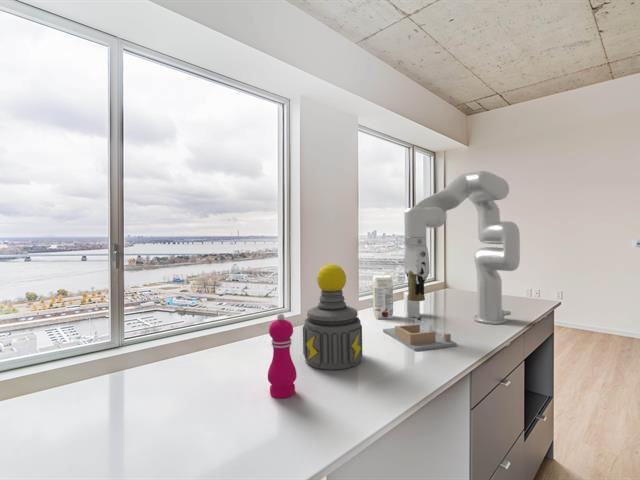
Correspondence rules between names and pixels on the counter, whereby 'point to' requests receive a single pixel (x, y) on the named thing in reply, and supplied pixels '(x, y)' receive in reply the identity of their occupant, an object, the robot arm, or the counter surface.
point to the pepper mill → (281, 359)
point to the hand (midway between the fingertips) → (416, 293)
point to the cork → (411, 293)
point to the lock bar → (424, 324)
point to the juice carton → (383, 297)
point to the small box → (411, 307)
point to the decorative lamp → (332, 325)
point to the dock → (419, 337)
